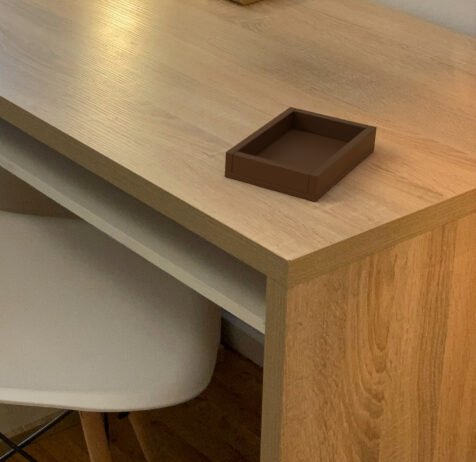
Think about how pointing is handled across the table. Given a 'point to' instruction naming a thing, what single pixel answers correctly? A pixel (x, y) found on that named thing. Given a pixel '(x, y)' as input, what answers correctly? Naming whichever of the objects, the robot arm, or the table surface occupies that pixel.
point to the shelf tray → (300, 153)
